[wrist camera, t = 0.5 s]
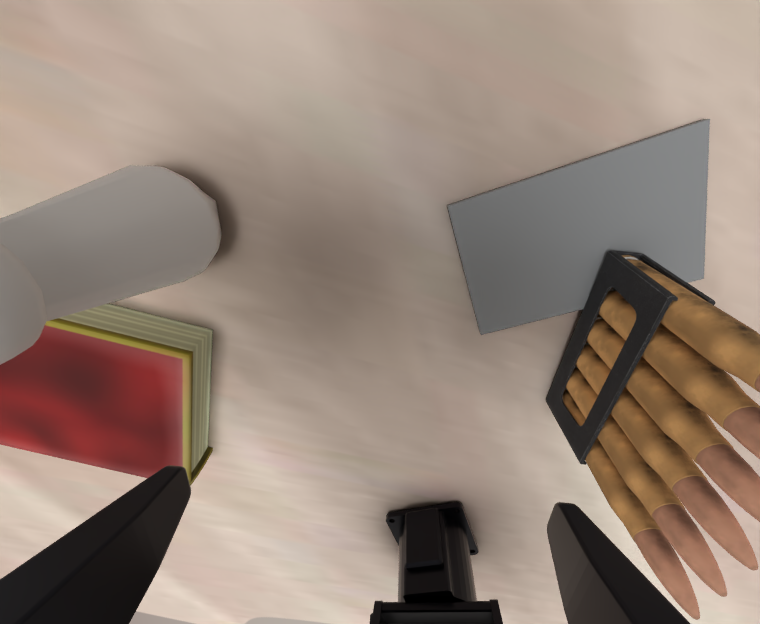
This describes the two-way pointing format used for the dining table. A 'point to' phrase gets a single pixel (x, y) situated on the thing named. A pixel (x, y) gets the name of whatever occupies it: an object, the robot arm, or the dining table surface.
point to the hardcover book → (112, 392)
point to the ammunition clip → (663, 416)
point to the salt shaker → (100, 248)
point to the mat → (583, 226)
